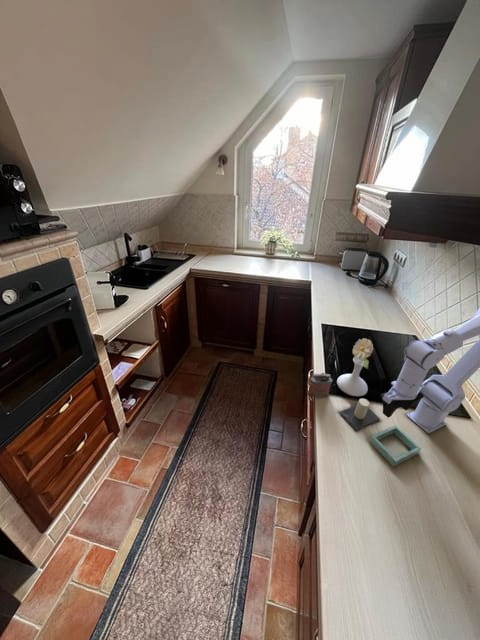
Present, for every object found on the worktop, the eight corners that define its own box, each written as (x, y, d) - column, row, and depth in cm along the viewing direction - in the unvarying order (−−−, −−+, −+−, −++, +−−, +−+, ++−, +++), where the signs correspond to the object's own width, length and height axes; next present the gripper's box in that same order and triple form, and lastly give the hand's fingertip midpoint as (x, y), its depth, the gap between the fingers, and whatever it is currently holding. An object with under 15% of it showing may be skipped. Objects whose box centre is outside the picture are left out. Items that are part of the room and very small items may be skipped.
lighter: (326, 390, 99) (331, 371, 94) (329, 397, 96) (335, 377, 92) (306, 390, 99) (310, 371, 94) (308, 397, 96) (313, 377, 91)
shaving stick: (359, 410, 91) (364, 397, 88) (366, 417, 88) (372, 404, 85) (352, 412, 90) (356, 400, 86) (359, 420, 87) (364, 407, 84)
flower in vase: (335, 375, 107) (349, 325, 95) (364, 381, 105) (383, 330, 92) (337, 398, 96) (353, 344, 84) (369, 405, 94) (391, 350, 81)
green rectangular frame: (393, 430, 85) (395, 425, 83) (418, 453, 78) (421, 448, 76) (369, 441, 81) (371, 436, 80) (393, 466, 74) (396, 461, 73)
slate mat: (362, 403, 94) (362, 402, 94) (379, 419, 88) (379, 418, 88) (339, 412, 90) (339, 411, 90) (355, 430, 84) (355, 428, 84)
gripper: (414, 364, 79) (400, 396, 85) (380, 376, 74) (367, 408, 81) (437, 379, 73) (419, 411, 80) (401, 393, 68) (386, 426, 75)
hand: (394, 411), depth 80 cm, fingers open, 7 cm apart
